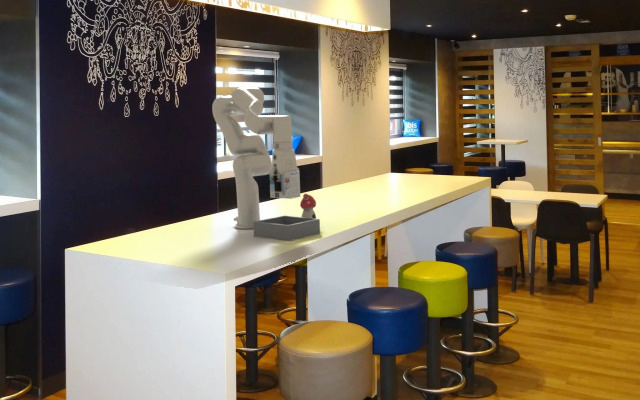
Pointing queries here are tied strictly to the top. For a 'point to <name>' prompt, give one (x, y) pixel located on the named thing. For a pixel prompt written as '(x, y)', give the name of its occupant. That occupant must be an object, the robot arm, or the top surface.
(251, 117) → the robot arm
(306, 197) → the decorative ornament
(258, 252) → the top surface
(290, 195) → the light bulb box
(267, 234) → the tote
